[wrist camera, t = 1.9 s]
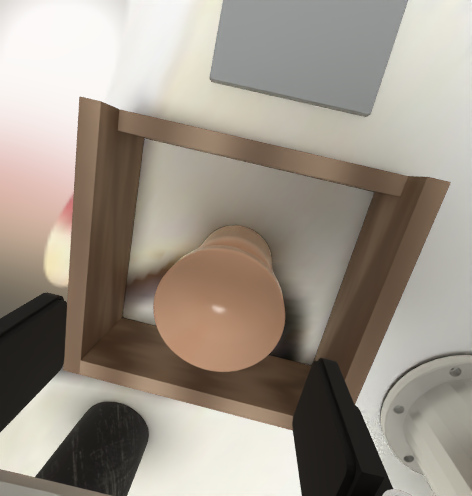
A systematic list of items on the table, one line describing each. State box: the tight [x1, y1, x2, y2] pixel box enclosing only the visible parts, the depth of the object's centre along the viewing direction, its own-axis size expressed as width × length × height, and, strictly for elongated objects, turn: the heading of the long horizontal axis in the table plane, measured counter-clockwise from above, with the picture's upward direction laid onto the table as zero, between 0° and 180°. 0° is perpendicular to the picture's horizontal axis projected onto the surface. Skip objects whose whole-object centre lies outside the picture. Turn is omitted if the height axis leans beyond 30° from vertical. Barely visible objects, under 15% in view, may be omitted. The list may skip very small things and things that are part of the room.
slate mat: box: [210, 0, 408, 117], centre depth 17 cm, size 11×11×1 cm
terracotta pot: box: [153, 225, 285, 372], centre depth 19 cm, size 7×7×9 cm
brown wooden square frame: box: [63, 97, 451, 430], centre depth 20 cm, size 20×18×6 cm
